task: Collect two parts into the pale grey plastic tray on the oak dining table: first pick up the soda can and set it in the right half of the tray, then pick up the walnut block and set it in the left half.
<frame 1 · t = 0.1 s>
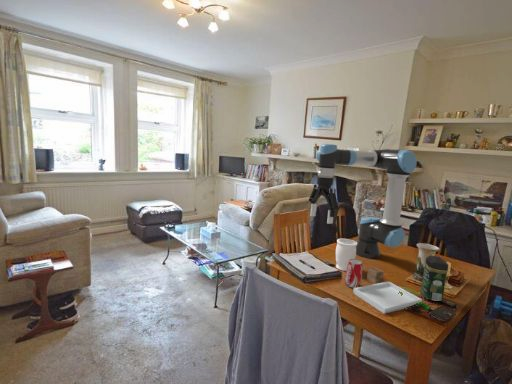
hand: (320, 219, 140), 28 cm above the table, fingers open, 13 cm apart
tray: (386, 298, 124), on the table
jar: (343, 268, 153), on the table
soda can: (352, 285, 134), on the table
coffee jar: (430, 297, 128), on the table
walnut block: (374, 281, 140), on the table
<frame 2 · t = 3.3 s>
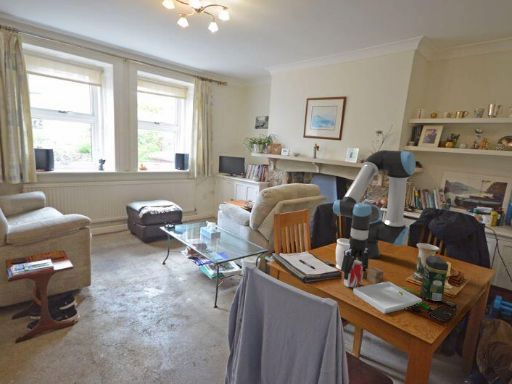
hand: (352, 284, 134), 1 cm above the table, fingers closed on soda can, 7 cm apart
soda can: (352, 285, 134), on the table, touching gripper
everything else where it was.
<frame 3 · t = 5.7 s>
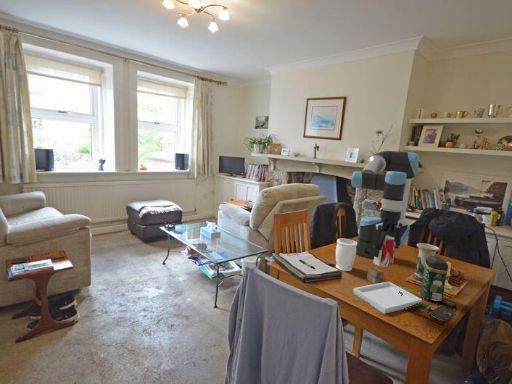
hand: (383, 263, 119), 17 cm above the table, fingers closed on soda can, 7 cm apart
soda can: (382, 264, 119), point 16 cm above the table, touching gripper
everything else where it was.
when the fingers open (3 cm above the table, at t = 8.5 s): soda can drops 2 cm, resting on tray.
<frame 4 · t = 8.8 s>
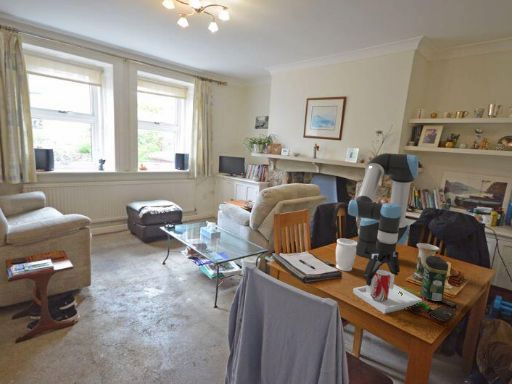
hand: (379, 290, 121), 5 cm above the table, fingers open, 11 cm apart
soda can: (378, 298, 122), point 1 cm above the table, touching tray
everything else where it was.
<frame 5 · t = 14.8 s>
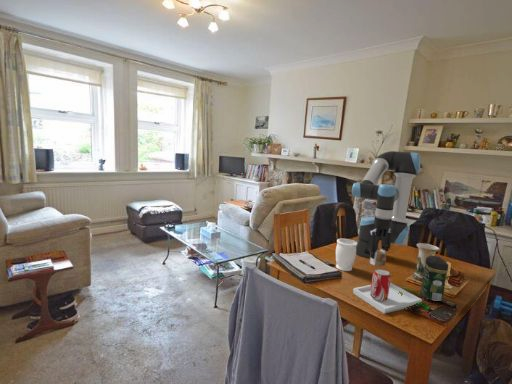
hand: (376, 263, 139), 9 cm above the table, fingers closed on walnut block, 5 cm apart
walnut block: (377, 264, 139), point 9 cm above the table, touching gripper
everything else where it was.
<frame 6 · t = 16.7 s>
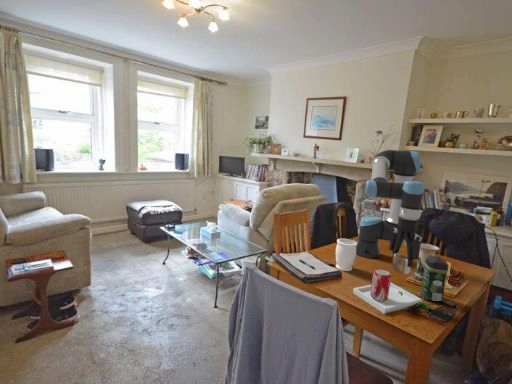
hand: (400, 270, 123), 13 cm above the table, fingers closed on walnut block, 5 cm apart
walnut block: (400, 270, 123), point 12 cm above the table, touching gripper
everything else where it was.
when the fingers open (1 cm above the table, at t = 18.9 s): walnut block stays where it is, resting on tray.
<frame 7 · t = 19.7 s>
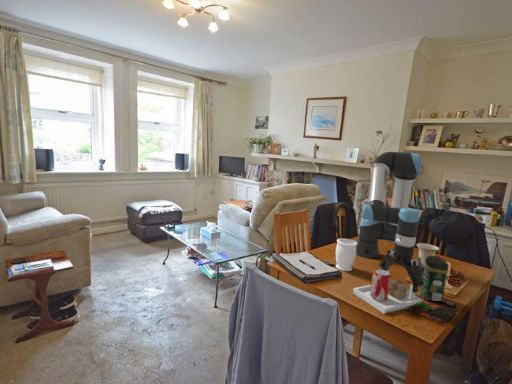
hand: (397, 290, 125), 3 cm above the table, fingers open, 13 cm apart
walnut block: (396, 295, 125), point 1 cm above the table, touching tray
everything else where it was.
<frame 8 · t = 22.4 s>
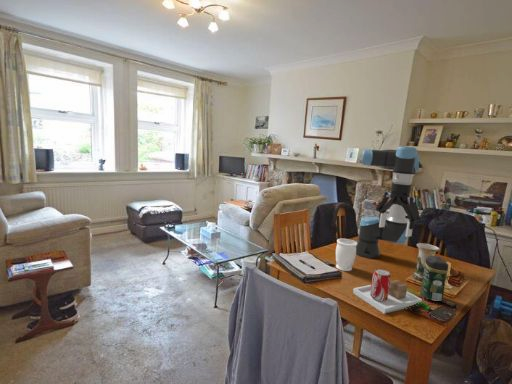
hand: (394, 231, 125), 29 cm above the table, fingers open, 13 cm apart
nothing on the table moved.
at the end: soda can inside the target area on the tray (4.7 cm from its centre), point 0.6 cm above the tray's base; soda can tilted 0°; walnut block inside the target area on the tray (5.2 cm from its centre), point 0.8 cm above the tray's base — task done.
